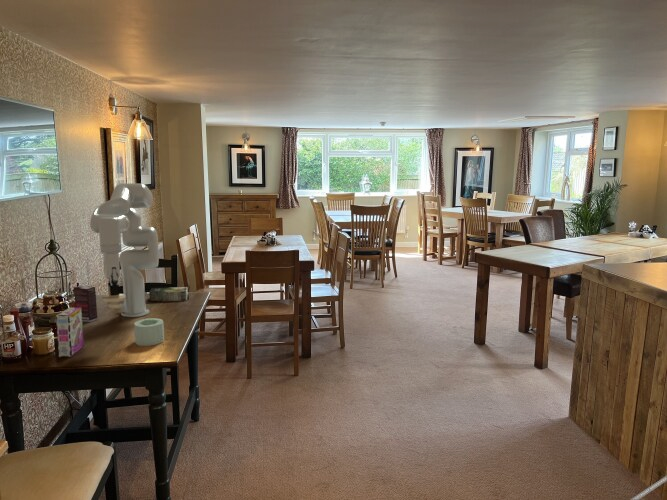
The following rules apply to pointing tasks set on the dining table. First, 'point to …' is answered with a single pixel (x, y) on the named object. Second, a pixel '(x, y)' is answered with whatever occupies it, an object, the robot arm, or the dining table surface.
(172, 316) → the dining table surface
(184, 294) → the juice carton
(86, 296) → the supplement box
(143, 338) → the canister
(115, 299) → the stopper
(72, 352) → the candy bar box
